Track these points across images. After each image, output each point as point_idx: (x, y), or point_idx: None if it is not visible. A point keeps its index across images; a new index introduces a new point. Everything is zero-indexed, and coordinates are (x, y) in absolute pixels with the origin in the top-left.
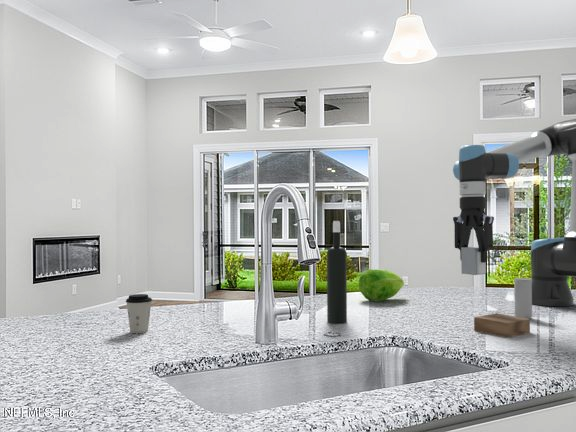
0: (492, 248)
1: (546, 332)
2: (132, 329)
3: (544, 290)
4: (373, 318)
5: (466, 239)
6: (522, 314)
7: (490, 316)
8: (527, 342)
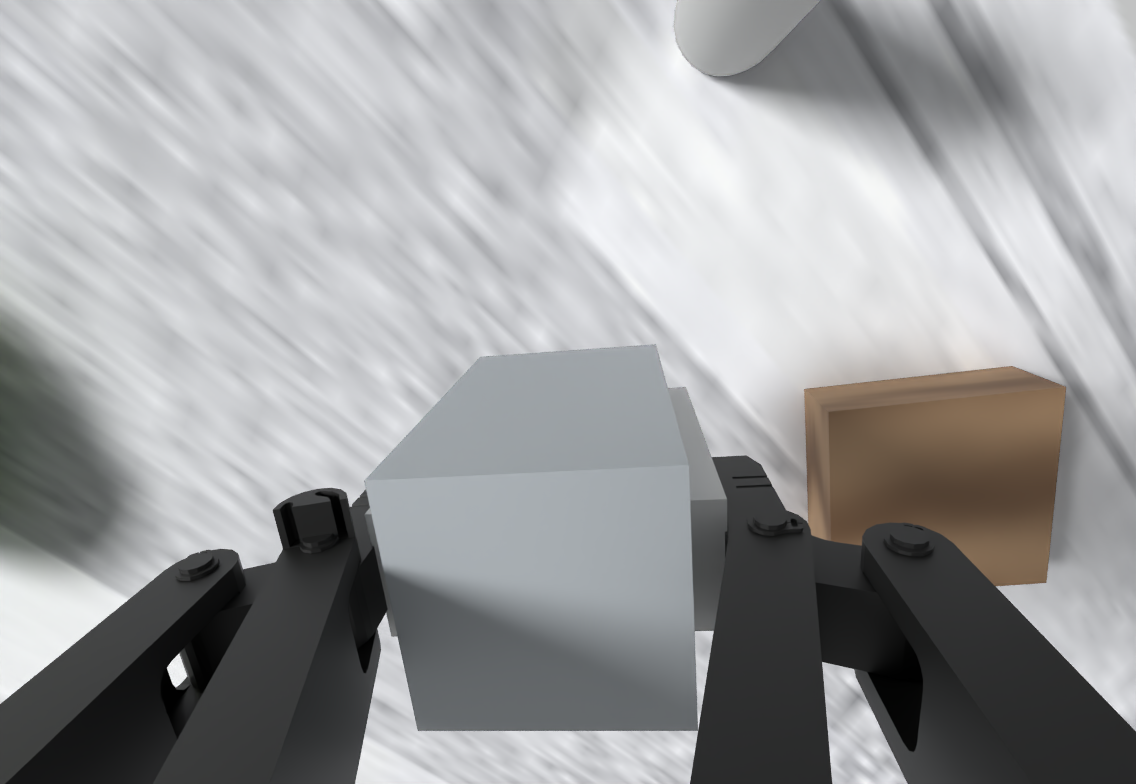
0: (938, 548)
1: (1072, 284)
2: None
3: None
4: (380, 726)
5: (330, 745)
6: (761, 60)
7: (871, 514)
8: (1116, 546)
